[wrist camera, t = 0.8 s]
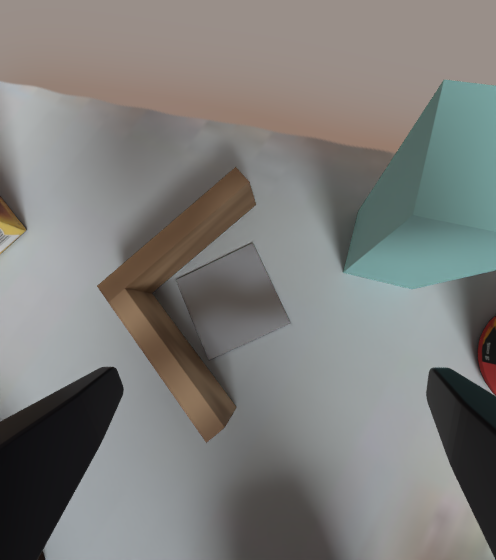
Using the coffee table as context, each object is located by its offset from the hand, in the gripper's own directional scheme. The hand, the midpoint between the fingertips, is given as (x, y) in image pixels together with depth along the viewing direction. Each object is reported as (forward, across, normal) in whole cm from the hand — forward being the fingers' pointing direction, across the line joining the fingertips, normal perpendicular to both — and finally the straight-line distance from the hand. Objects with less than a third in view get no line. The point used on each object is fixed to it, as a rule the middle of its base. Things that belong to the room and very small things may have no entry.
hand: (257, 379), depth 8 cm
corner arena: (+13, +4, +4) cm, 15 cm away
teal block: (+16, -8, +1) cm, 17 cm away
